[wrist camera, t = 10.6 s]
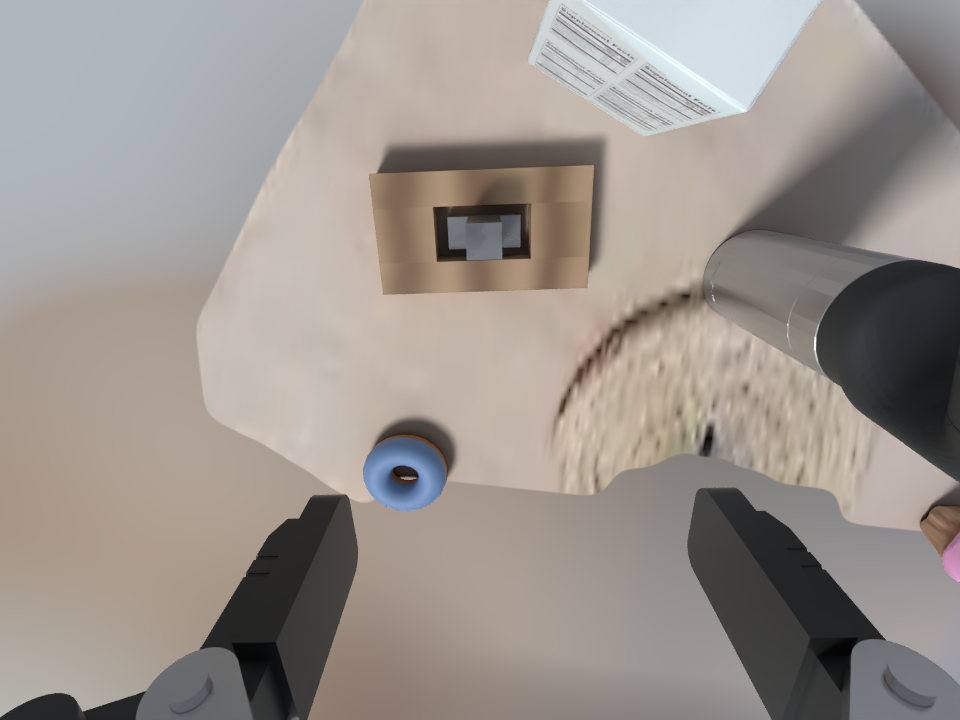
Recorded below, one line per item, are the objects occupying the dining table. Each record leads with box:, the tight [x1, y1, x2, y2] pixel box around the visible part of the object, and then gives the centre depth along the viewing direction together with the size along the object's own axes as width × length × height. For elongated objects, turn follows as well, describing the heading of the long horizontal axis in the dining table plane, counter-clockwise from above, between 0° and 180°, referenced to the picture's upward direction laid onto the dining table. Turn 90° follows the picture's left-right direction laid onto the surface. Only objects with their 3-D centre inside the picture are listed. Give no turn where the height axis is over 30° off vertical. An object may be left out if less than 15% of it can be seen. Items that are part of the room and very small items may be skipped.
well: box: [369, 165, 594, 295], centre depth 43 cm, size 20×11×3 cm, turn 92°
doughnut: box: [363, 434, 447, 511], centre depth 54 cm, size 10×10×5 cm
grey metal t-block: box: [447, 214, 521, 260], centre depth 41 cm, size 7×3×8 cm, turn 92°
